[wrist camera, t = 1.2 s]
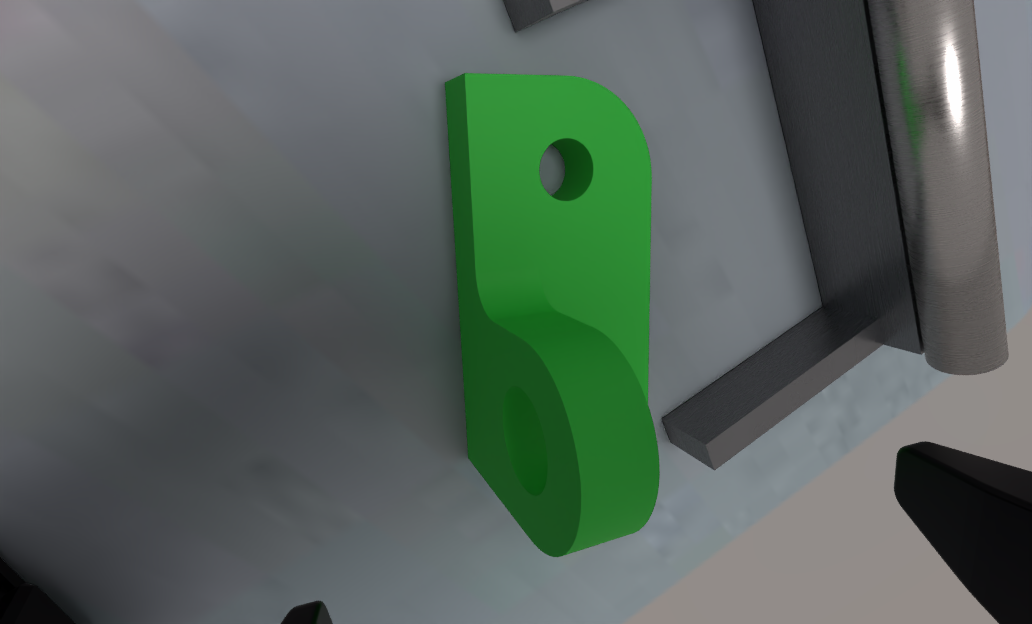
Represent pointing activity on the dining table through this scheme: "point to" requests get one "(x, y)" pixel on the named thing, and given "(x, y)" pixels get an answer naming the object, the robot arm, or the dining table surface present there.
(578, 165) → the mechanical part
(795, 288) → the dining table surface
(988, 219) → the bracket
